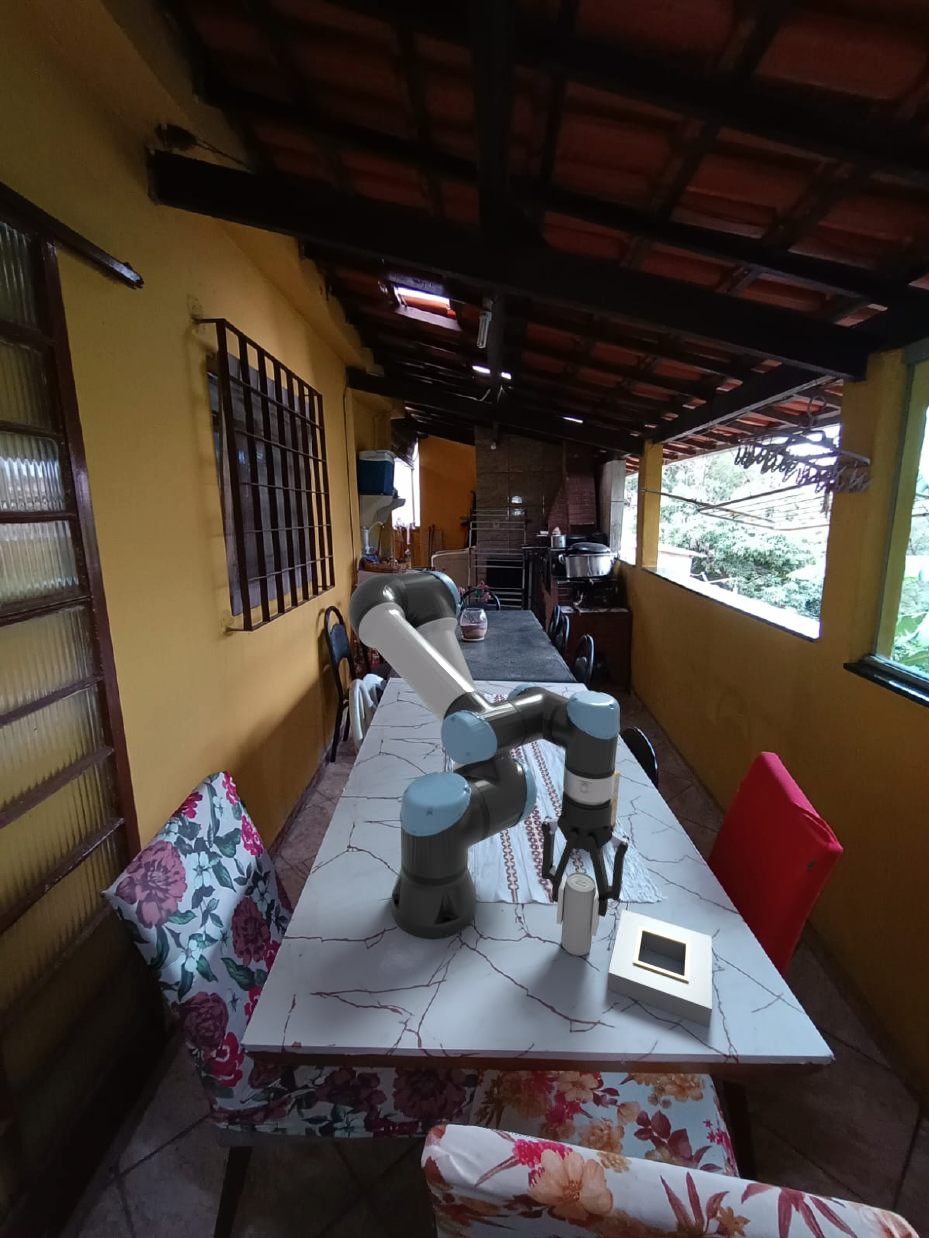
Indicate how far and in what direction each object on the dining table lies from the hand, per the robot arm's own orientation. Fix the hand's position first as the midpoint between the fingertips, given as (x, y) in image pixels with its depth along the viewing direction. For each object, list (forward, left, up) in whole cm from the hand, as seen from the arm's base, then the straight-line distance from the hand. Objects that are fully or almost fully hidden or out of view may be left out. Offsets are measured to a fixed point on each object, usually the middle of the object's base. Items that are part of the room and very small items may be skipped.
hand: (577, 923), depth 87 cm
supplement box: (-3, +35, -5) cm, 35 cm away
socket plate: (+13, +1, -4) cm, 14 cm away
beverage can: (0, 0, -4) cm, 4 cm away
